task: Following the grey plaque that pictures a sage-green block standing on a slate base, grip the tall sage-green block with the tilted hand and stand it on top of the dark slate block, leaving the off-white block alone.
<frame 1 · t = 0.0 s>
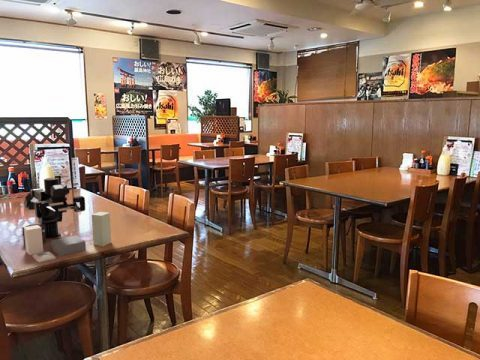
hand: (67, 210, 149), 17 cm above the table, tool horizontal, fingers open, 9 cm apart
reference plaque: (44, 257, 145), on the table
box: (34, 243, 161), on the table
sage block: (102, 243, 160), on the table
white block: (34, 251, 150), on the table
slate base: (68, 250, 153), on the table
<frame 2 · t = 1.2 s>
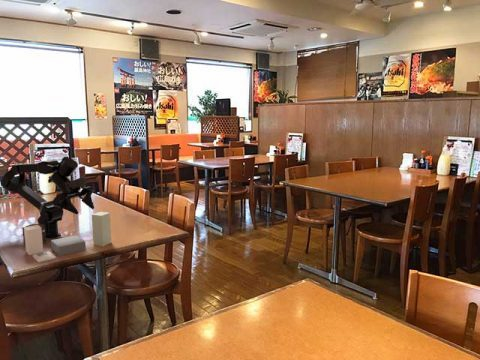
hand: (85, 211, 161), 13 cm above the table, tool tilted 45°, fingers open, 9 cm apart
nothing on the table moved.
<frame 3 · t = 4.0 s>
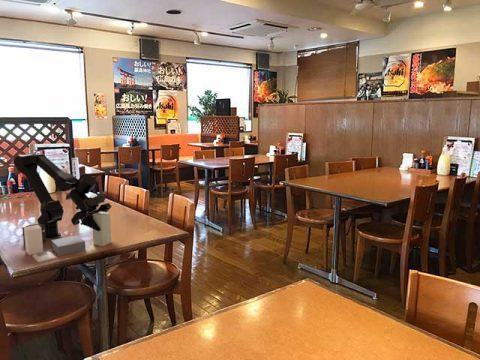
hand: (104, 228, 159), 7 cm above the table, tool tilted 45°, fingers closed on sage block, 5 cm apart
sage block: (102, 243, 160), on the table, touching gripper
everything else where it was.
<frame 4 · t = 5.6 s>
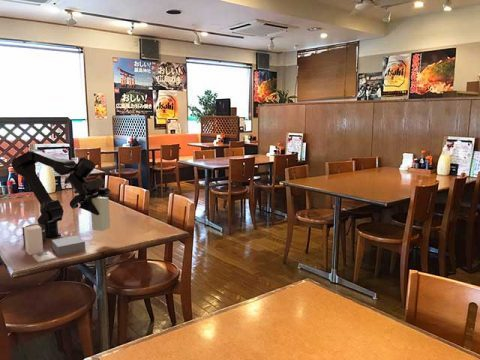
hand: (103, 213, 158), 13 cm above the table, tool tilted 45°, fingers closed on sage block, 5 cm apart
sage block: (101, 228, 159), point 6 cm above the table, touching gripper
everything else where it was.
when the fingers open (12 cm above the table, at t = 7.3 s): sage block drops 1 cm, resting on slate base.
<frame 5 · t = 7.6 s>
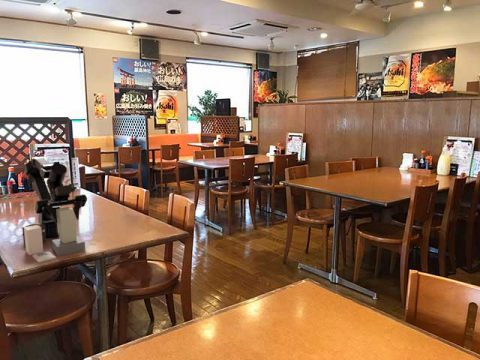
hand: (67, 221, 150), 12 cm above the table, tool tilted 45°, fingers open, 8 cm apart
sage block: (68, 240, 153), point 4 cm above the table, touching slate base
slate base: (68, 250, 153), on the table, touching sage block
everything else where it was.
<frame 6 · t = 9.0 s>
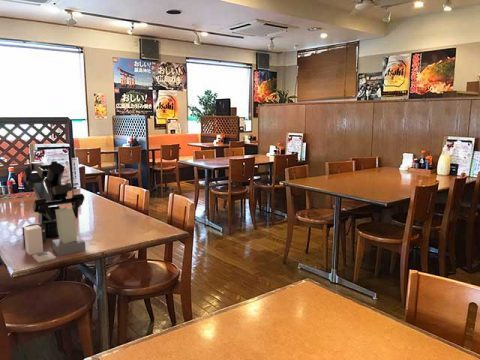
hand: (65, 219, 153), 12 cm above the table, tool tilted 45°, fingers open, 9 cm apart
nothing on the table moved.
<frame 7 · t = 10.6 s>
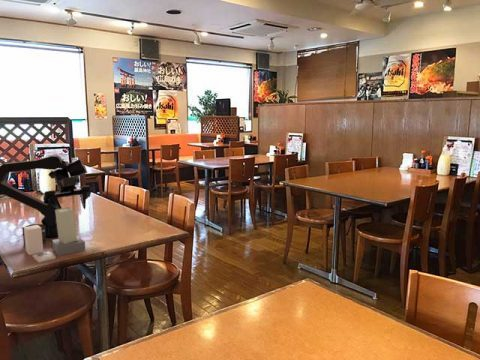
hand: (73, 210, 160), 14 cm above the table, tool tilted 45°, fingers open, 9 cm apart
nothing on the table moved.
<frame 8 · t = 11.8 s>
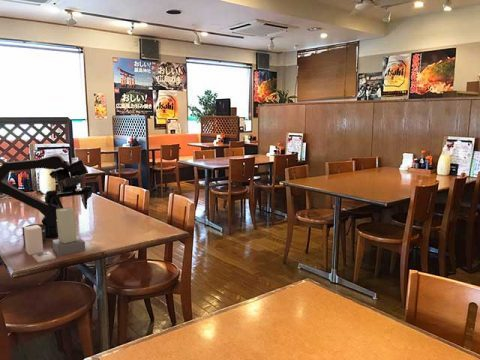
hand: (75, 210, 160), 14 cm above the table, tool tilted 45°, fingers open, 9 cm apart
sage block: (67, 240, 153), point 4 cm above the table
slate base: (69, 250, 153), on the table
everything else where it was.
at the end: sage block 0.2 cm off-centre on the slate base, point 4.2 cm above the slate base's base; sage block tilted 4°; the gripper is holding nothing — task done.
